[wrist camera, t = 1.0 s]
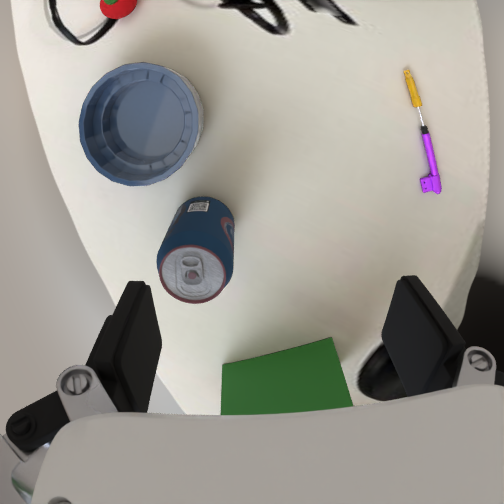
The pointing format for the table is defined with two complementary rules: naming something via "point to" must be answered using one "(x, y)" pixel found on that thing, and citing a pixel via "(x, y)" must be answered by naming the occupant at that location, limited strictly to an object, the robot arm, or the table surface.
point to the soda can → (197, 251)
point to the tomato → (117, 8)
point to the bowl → (140, 123)
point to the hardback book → (286, 382)
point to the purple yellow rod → (425, 142)
